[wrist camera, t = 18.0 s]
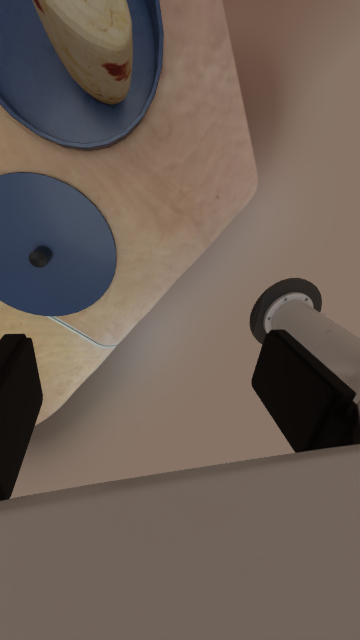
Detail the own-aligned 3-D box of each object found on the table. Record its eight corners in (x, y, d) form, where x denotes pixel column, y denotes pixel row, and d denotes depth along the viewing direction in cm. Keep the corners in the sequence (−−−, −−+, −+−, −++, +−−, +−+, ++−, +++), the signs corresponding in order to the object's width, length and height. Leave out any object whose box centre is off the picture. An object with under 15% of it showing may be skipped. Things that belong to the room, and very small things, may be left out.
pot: (163, -64, 29) (170, -101, 25) (153, 160, 39) (157, 158, 35) (-67, -146, 24) (-102, -209, 20) (-10, 137, 34) (-26, 132, 30)
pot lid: (115, 182, 40) (115, 182, 36) (117, 312, 50) (117, 324, 46) (-61, 162, 34) (-85, 160, 30) (-17, 313, 45) (-30, 327, 41)
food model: (46, 61, 31) (-37, -79, 14) (75, 7, 30) (22, -223, 13) (112, 128, 36) (110, 83, 19) (141, 85, 34) (167, -8, 17)
